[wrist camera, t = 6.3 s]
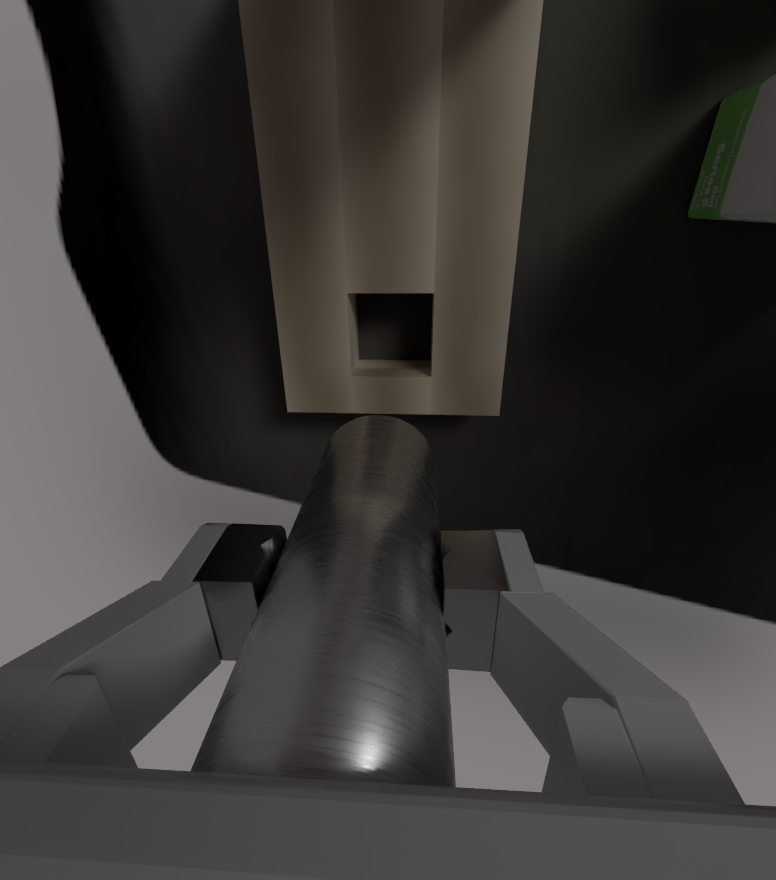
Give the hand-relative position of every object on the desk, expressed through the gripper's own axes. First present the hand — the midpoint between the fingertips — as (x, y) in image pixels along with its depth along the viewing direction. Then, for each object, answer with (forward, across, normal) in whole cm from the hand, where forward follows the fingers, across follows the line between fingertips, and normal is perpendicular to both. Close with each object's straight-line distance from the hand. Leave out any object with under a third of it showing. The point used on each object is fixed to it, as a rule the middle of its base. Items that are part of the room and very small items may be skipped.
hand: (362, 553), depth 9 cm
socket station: (+17, 0, -6) cm, 19 cm away
